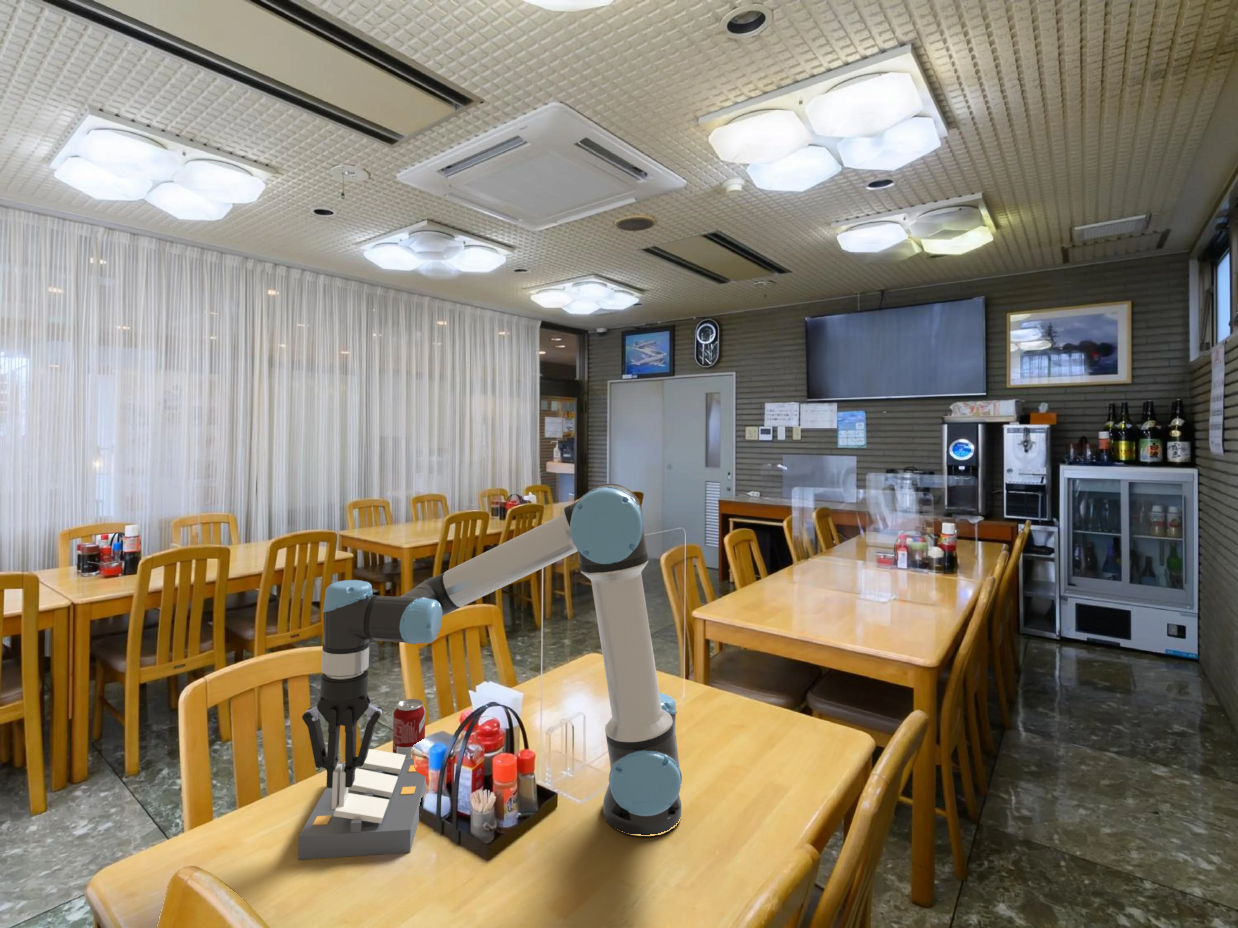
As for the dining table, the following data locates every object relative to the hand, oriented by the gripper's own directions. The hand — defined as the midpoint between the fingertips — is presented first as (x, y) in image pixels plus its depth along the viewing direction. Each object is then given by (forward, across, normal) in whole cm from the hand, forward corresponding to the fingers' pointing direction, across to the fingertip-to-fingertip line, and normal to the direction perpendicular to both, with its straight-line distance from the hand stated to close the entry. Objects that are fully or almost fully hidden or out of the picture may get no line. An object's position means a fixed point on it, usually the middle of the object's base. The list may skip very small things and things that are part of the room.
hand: (339, 804), depth 108 cm
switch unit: (+7, -4, -8) cm, 11 cm away
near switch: (+1, -4, 0) cm, 4 cm away
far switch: (+1, -4, -16) cm, 16 cm away
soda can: (+7, -7, -29) cm, 31 cm away
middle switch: (+1, -4, -8) cm, 9 cm away
